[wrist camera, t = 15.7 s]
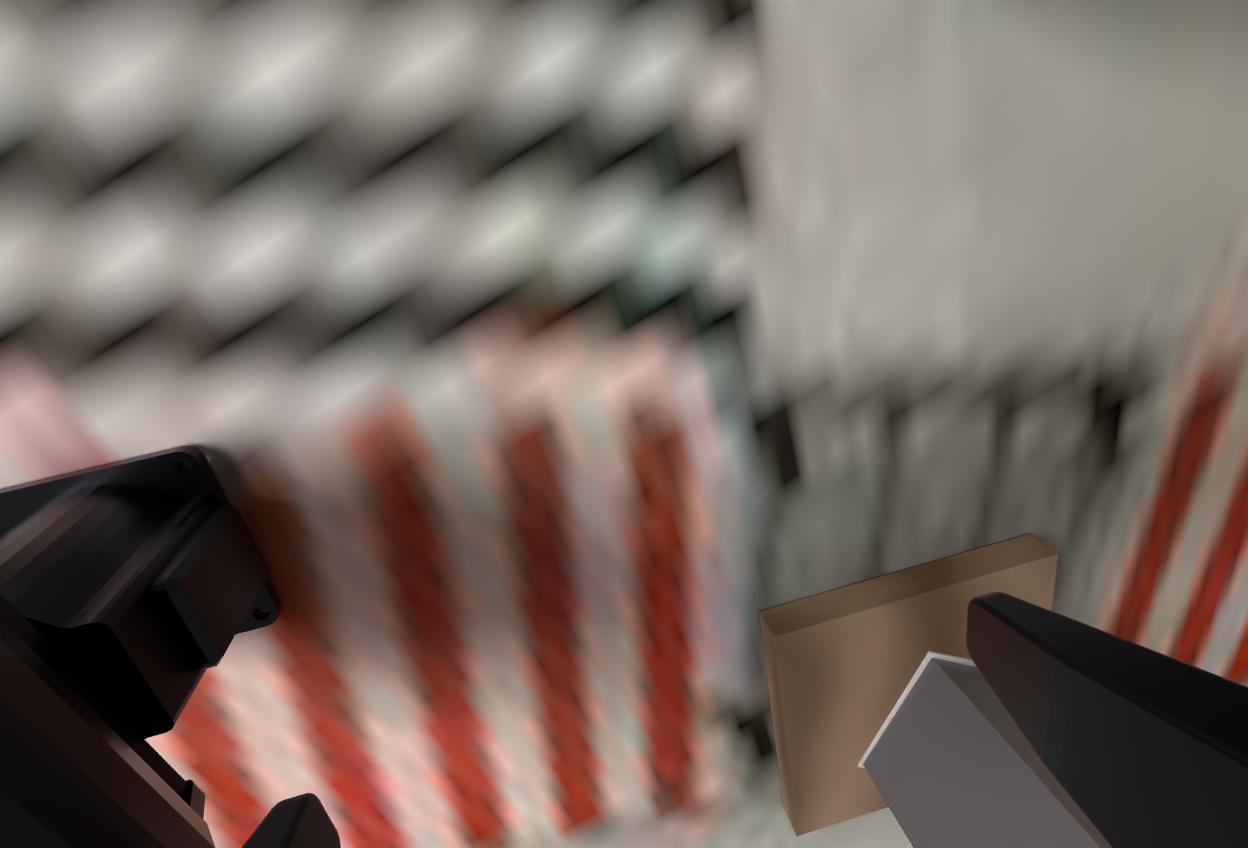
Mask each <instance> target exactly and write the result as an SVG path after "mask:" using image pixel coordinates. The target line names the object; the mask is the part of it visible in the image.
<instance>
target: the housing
mask: <svg viewBox="0 0 1248 848" xmlns="http://www.w3.org/2000/svg"><path fill="white" fill-rule="evenodd" d="M863 766H864V767H865V769H866V771H867V772H868V774H869V775H870V777H871V779H872V780H873V782H874V784H875V785H876V787H877V789H878V790H879V792H880V793H881V795H882V797H883V798H884V800H885V802H886V803H887V805H888V806H889V808H890V810H891V811H892V813H893V815H894V816H895V818H896V820H897V821H898V823H899V824H900V826H901V828H902V829H903V831H904V833H905V834H906V836H907V837H908V839H909V841H910V842H911V844H912V846H913V847H914V848H1112V847H1111V846H1110V844H1109V843H1108V842H1107V841H1106V840H1105V838H1104V837H1103V836H1102V835H1101V834H1100V832H1099V831H1098V830H1097V829H1096V827H1095V826H1094V825H1093V824H1092V823H1091V821H1090V820H1089V819H1088V818H1087V817H1086V815H1085V814H1084V813H1083V812H1082V810H1081V809H1080V808H1079V807H1078V806H1077V804H1076V803H1075V802H1074V801H1073V800H1072V798H1071V797H1070V796H1069V795H1068V793H1067V792H1066V791H1065V790H1064V789H1063V787H1062V786H1061V785H1060V784H1059V782H1058V781H1057V780H1056V779H1055V778H1054V776H1053V775H1052V774H1051V772H1050V771H1049V770H1048V769H1047V767H1046V766H1045V765H1044V764H1043V762H1042V761H1041V760H1040V758H1039V757H1038V755H1037V754H1036V753H1035V751H1034V750H1033V748H1032V747H1031V746H1030V744H1029V743H1028V741H1027V740H1026V738H1025V737H1024V735H1023V734H1022V733H1021V731H1020V730H1019V728H1018V727H1017V725H1016V724H1015V722H1014V721H1013V719H1012V718H1011V716H1010V715H1009V713H1008V712H1007V711H1006V709H1005V708H1004V706H1003V705H1002V703H1001V702H1000V700H999V699H998V697H997V696H996V694H995V693H994V691H993V690H992V689H991V687H990V686H989V684H988V683H987V681H986V680H985V678H984V677H983V675H982V674H981V672H980V671H979V669H978V668H977V667H975V666H970V665H965V664H960V663H956V662H951V661H946V660H942V659H937V658H931V659H930V661H929V662H928V664H927V666H926V667H925V669H924V670H923V672H922V673H921V675H920V676H919V678H918V679H917V681H916V683H915V684H914V686H913V687H912V689H911V690H910V692H909V693H908V695H907V697H906V698H905V700H904V701H903V703H902V704H901V706H900V707H899V709H898V710H897V712H896V714H895V715H894V717H893V718H892V720H891V721H890V723H889V724H888V726H887V727H886V729H885V731H884V732H883V734H882V735H881V737H880V738H879V740H878V741H877V743H876V744H875V746H874V748H873V749H872V751H871V752H870V754H869V755H868V757H867V758H866V760H865V761H864V763H863Z"/></svg>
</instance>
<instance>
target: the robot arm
mask: <svg viewBox="0 0 1248 848" xmlns="http://www.w3.org/2000/svg"><path fill="white" fill-rule="evenodd" d="M178 459H183V460H186V461H188V462H189V463H190V464H191V466H192V469H186V468H184V467H182V466H181V465H180V464H179V461H178ZM268 574H269V568H268V566H267V564H266V563H265V561H264V559H263V557H262V555H261V553H260V551H259V549H258V547H257V545H256V543H255V541H254V539H253V537H252V535H251V533H250V531H249V529H248V527H247V526H246V524H245V522H244V520H243V518H242V516H241V514H240V512H239V510H238V509H237V508H236V507H234V506H233V505H231V504H230V503H229V501H228V499H227V497H226V496H225V494H224V492H223V490H222V488H221V486H220V484H219V482H218V480H217V478H216V476H215V474H214V472H213V470H212V469H211V467H210V465H209V463H208V461H207V459H206V457H205V456H204V454H203V453H202V452H201V451H199V450H198V449H196V448H194V447H190V446H180V447H176V448H171V449H167V450H163V451H159V452H154V453H150V454H146V455H142V456H138V457H133V458H129V459H125V460H121V461H116V462H112V463H108V464H104V465H100V466H95V467H91V468H87V469H83V470H79V471H74V472H70V473H66V474H62V475H57V476H53V477H49V478H45V479H41V480H36V481H32V482H28V483H24V484H19V485H15V486H11V487H7V488H3V489H0V848H215V845H214V843H213V840H212V837H211V834H210V831H209V828H208V825H207V823H206V822H205V821H204V820H203V816H204V804H205V793H204V792H203V791H202V790H201V789H200V788H199V787H198V786H197V785H196V784H195V783H194V782H193V781H192V780H187V781H185V780H184V779H183V778H182V777H181V776H180V775H179V774H178V773H177V772H176V771H175V770H174V769H173V768H172V767H171V766H170V765H169V764H168V763H167V762H166V761H165V760H164V759H163V758H162V757H161V756H160V755H159V754H158V753H157V752H156V751H155V750H154V749H153V748H152V747H151V746H150V745H149V744H148V743H147V742H146V741H145V740H144V739H146V738H148V737H152V736H155V735H159V734H162V733H166V732H168V731H170V730H172V728H173V726H174V725H175V723H176V721H177V719H178V718H179V716H180V714H181V712H182V711H183V709H184V707H185V705H186V704H187V702H188V700H189V698H190V697H191V695H192V693H193V691H194V690H195V688H196V686H197V684H198V683H199V681H200V679H201V677H202V676H203V674H204V672H205V670H206V669H207V668H211V667H215V666H217V665H218V664H219V663H220V661H221V659H222V657H223V656H224V654H225V652H226V650H227V649H228V647H229V645H230V643H231V641H232V639H233V638H234V636H235V634H238V633H242V632H246V631H250V630H253V629H257V628H261V627H265V626H268V625H270V624H272V623H274V622H275V621H276V620H277V618H278V616H279V614H280V611H281V608H282V605H281V602H280V600H279V598H278V596H277V594H276V592H275V590H274V588H273V586H272V584H271V582H270V580H269V579H268V577H267V576H268ZM262 607H263V608H265V609H267V610H268V611H269V612H261V611H260V610H259V609H258V608H262ZM966 645H967V650H968V652H969V655H970V657H971V659H972V660H973V662H974V664H975V665H976V667H977V668H978V669H979V671H980V672H981V674H982V675H983V677H984V678H985V680H986V681H987V683H988V684H989V686H990V687H991V689H992V690H993V691H994V693H995V694H996V696H997V697H998V699H999V700H1000V702H1001V703H1002V705H1003V706H1004V708H1005V709H1006V711H1007V712H1008V713H1009V715H1010V716H1011V718H1012V719H1013V721H1014V722H1015V724H1016V725H1017V727H1018V728H1019V730H1020V731H1021V733H1022V734H1023V735H1024V737H1025V738H1026V740H1027V741H1028V743H1029V744H1030V746H1031V747H1032V748H1033V750H1034V751H1035V753H1036V754H1037V755H1038V757H1039V758H1040V760H1041V761H1042V762H1043V764H1044V765H1045V766H1046V767H1047V769H1048V770H1049V771H1050V772H1051V774H1052V775H1053V776H1054V778H1055V779H1056V780H1057V781H1058V782H1059V784H1060V785H1061V786H1062V787H1063V789H1064V790H1065V791H1066V792H1067V793H1068V795H1069V796H1070V797H1071V798H1072V800H1073V801H1074V802H1075V803H1076V804H1077V806H1078V807H1079V808H1080V809H1081V810H1082V812H1083V813H1084V814H1085V815H1086V817H1087V818H1088V819H1089V820H1090V821H1091V823H1092V824H1093V825H1094V826H1095V827H1096V829H1097V830H1098V831H1099V832H1100V834H1101V835H1102V836H1103V837H1104V838H1105V840H1106V841H1107V842H1108V843H1109V844H1110V846H1111V847H1112V848H1248V687H1246V686H1243V685H1241V684H1238V683H1236V682H1233V681H1231V680H1228V679H1225V678H1223V677H1220V676H1218V675H1215V674H1212V673H1210V672H1207V671H1205V670H1202V669H1200V668H1197V667H1194V666H1192V665H1189V664H1187V663H1184V662H1182V661H1179V660H1176V659H1174V658H1171V657H1169V656H1166V655H1163V654H1161V653H1158V652H1156V651H1153V650H1151V649H1148V648H1145V647H1143V646H1140V645H1138V644H1135V643H1133V642H1130V641H1127V640H1125V639H1122V638H1120V637H1117V636H1114V635H1112V634H1109V633H1107V632H1104V631H1102V630H1099V629H1096V628H1094V627H1091V626H1089V625H1086V624H1084V623H1081V622H1078V621H1076V620H1073V619H1071V618H1068V617H1065V616H1063V615H1060V614H1058V613H1055V612H1053V611H1050V610H1047V609H1045V608H1042V607H1040V606H1037V605H1035V604H1032V603H1029V602H1027V601H1024V600H1022V599H1019V598H1016V597H1014V596H1011V595H1009V594H1006V593H1003V592H992V593H988V594H985V595H981V596H978V597H975V598H973V599H971V600H970V602H969V604H968V611H967V630H966ZM242 848H341V846H340V838H339V835H338V832H337V830H336V828H335V826H334V824H333V823H332V821H331V819H330V818H329V816H328V814H327V812H326V811H325V809H324V807H323V805H322V804H321V802H320V800H319V799H318V797H317V796H316V795H314V794H312V793H306V794H303V795H299V796H296V797H292V798H289V799H286V800H283V801H281V802H279V803H278V804H276V805H275V806H274V807H273V808H272V809H271V811H270V812H269V813H268V815H267V816H266V817H265V818H264V820H263V821H262V822H261V823H260V825H259V826H258V827H257V829H256V830H255V831H254V832H253V834H252V835H251V836H250V838H249V839H248V840H247V841H246V843H245V844H244V845H243V847H242Z"/></svg>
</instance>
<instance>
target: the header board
mask: <svg viewBox="0 0 1248 848" xmlns="http://www.w3.org/2000/svg"><path fill="white" fill-rule="evenodd" d="M1058 555H1059V554H1058V553H1057V552H1055V551H1054V550H1052V549H1051V548H1050V547H1048V546H1047V545H1045V544H1044V543H1042V542H1041V541H1039V540H1038V539H1036V538H1035V537H1034V536H1032V535H1031V534H1027V535H1023V536H1020V537H1016V538H1013V539H1009V540H1006V541H1002V542H999V543H995V544H992V545H988V546H985V547H981V548H978V549H974V550H971V551H967V552H964V553H960V554H957V555H954V556H950V557H947V558H943V559H940V560H936V561H933V562H929V563H926V564H922V565H919V566H915V567H912V568H908V569H905V570H901V571H898V572H894V573H891V574H887V575H884V576H880V577H877V578H873V579H870V580H866V581H863V582H859V583H856V584H852V585H849V586H845V587H842V588H838V589H835V590H832V591H828V592H825V593H821V594H818V595H814V596H811V597H807V598H804V599H800V600H797V601H793V602H790V603H786V604H783V605H779V606H776V607H772V608H769V609H765V610H762V611H759V615H760V623H761V631H762V639H763V647H764V656H765V664H766V672H767V680H768V688H769V696H770V704H771V712H772V720H773V728H774V736H775V744H776V753H777V761H778V769H779V777H780V785H781V793H782V801H783V807H784V809H785V811H786V813H787V816H788V818H789V820H790V822H791V825H792V827H793V829H794V831H795V833H796V836H799V835H802V834H805V833H808V832H811V831H815V830H818V829H821V828H824V827H827V826H830V825H833V824H836V823H839V822H842V821H845V820H848V819H851V818H854V817H857V816H861V815H864V814H867V813H870V812H873V811H876V810H879V809H882V808H885V807H888V805H887V803H886V802H885V800H884V798H883V797H882V795H881V793H880V792H879V790H878V789H877V787H876V785H875V784H874V782H873V780H872V779H871V777H870V775H869V774H868V772H867V771H866V769H865V767H864V766H863V763H864V761H865V760H866V758H867V757H868V755H869V754H870V752H871V751H872V749H873V748H874V746H875V744H876V743H877V741H878V740H879V738H880V737H881V735H882V734H883V732H884V731H885V729H886V727H887V726H888V724H889V723H890V721H891V720H892V718H893V717H894V715H895V714H896V712H897V710H898V709H899V707H900V706H901V704H902V703H903V701H904V700H905V698H906V697H907V695H908V693H909V692H910V690H911V689H912V687H913V686H914V684H915V683H916V681H917V679H918V678H919V676H920V675H921V673H922V672H923V670H924V669H925V667H926V666H927V664H928V662H929V661H930V659H931V658H937V659H942V660H946V661H951V662H956V663H960V664H965V665H970V666H975V667H976V665H975V664H974V662H973V660H972V659H971V657H970V655H969V652H968V650H967V645H966V630H967V611H968V604H969V602H970V600H971V599H973V598H975V597H978V596H981V595H985V594H988V593H992V592H1003V593H1006V594H1009V595H1011V596H1014V597H1016V598H1019V599H1022V600H1024V601H1027V602H1029V603H1032V604H1035V605H1037V606H1040V607H1042V608H1045V609H1047V610H1050V611H1052V605H1053V596H1054V588H1055V580H1056V571H1057V563H1058Z"/></svg>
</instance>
